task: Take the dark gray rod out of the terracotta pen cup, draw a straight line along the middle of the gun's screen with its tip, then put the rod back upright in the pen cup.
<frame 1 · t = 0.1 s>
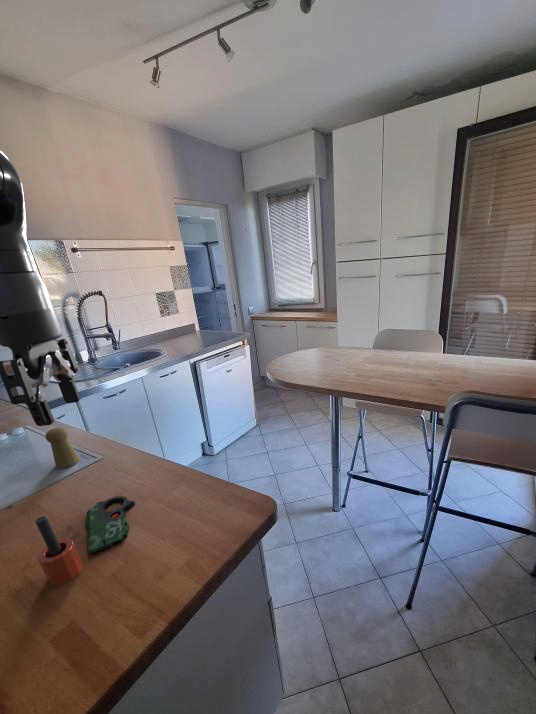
hand: (60, 412, 53), 31 cm above the counter, tool pointing down, fingers open, 8 cm apart
cork: (68, 463, 98), on the counter
pen cup: (67, 573, 61), on the counter
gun: (113, 524, 73), on the counter
dark gray rod: (66, 572, 61), resting on pen cup
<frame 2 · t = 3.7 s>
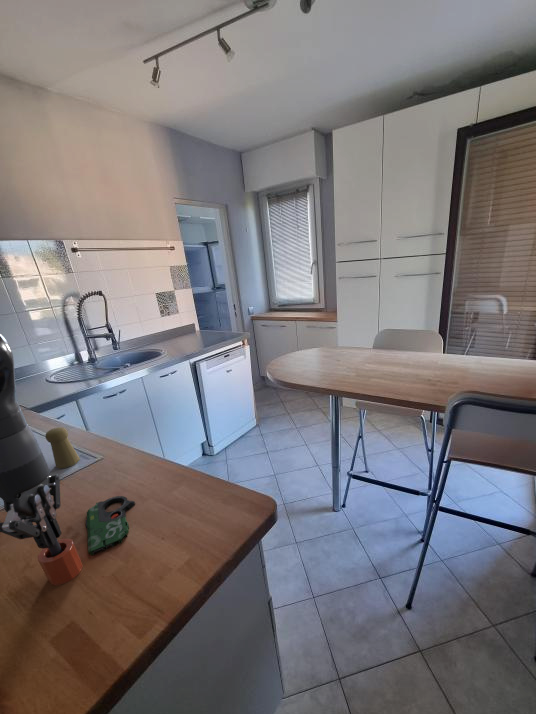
hand: (51, 541, 58), 8 cm above the counter, tool pointing down, fingers closed on dark gray rod, 1 cm apart
dark gray rod: (66, 571, 61), point 1 cm above the counter, touching gripper
everything else where it was.
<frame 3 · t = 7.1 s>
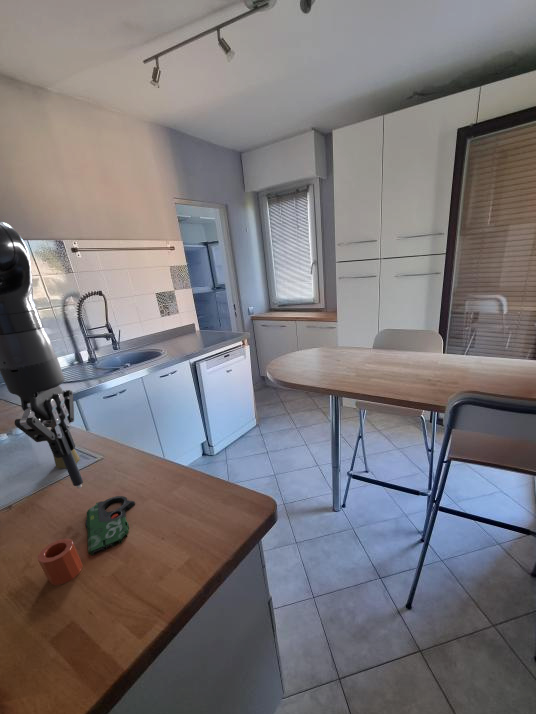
hand: (65, 452, 59), 22 cm above the counter, tool pointing down, fingers closed on dark gray rod, 1 cm apart
dark gray rod: (79, 487, 62), point 14 cm above the counter, touching gripper
everything else where it was.
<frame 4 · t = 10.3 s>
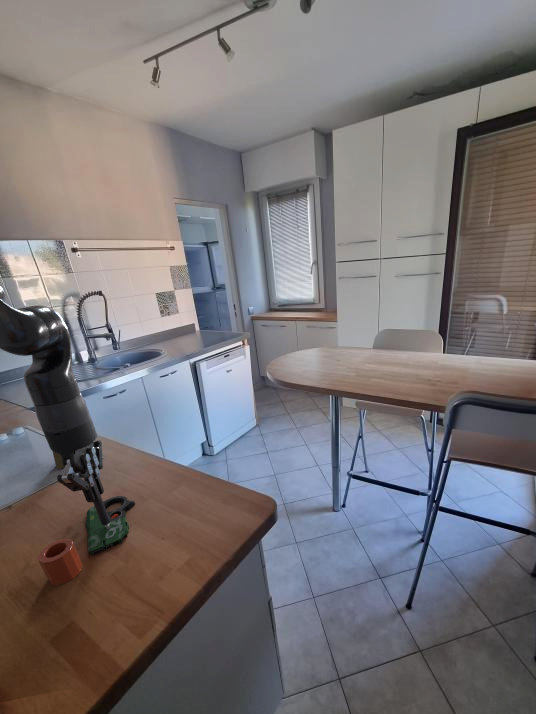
hand: (96, 497, 67), 9 cm above the counter, tool pointing down, fingers closed on dark gray rod, 1 cm apart
dark gray rod: (107, 525, 70), point 2 cm above the counter, touching gripper
everything else where it was.
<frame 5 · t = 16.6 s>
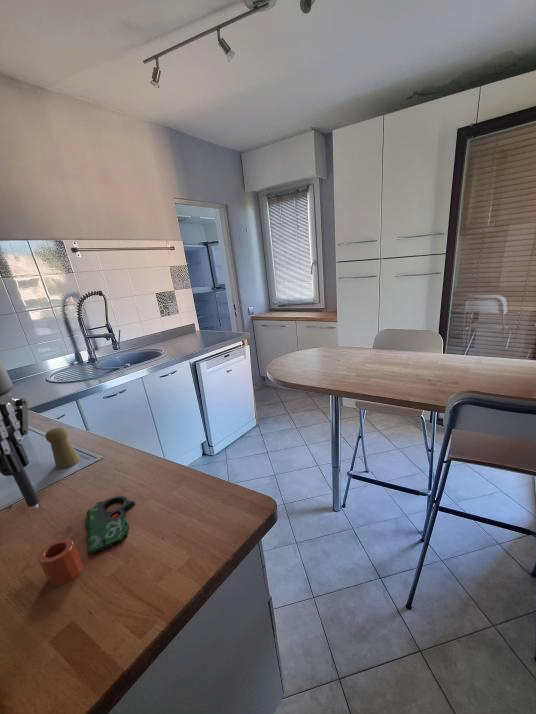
hand: (17, 469, 52), 23 cm above the counter, tool pointing down, fingers closed on dark gray rod, 1 cm apart
dark gray rod: (35, 507, 55), point 15 cm above the counter, touching gripper
everything else where it was.
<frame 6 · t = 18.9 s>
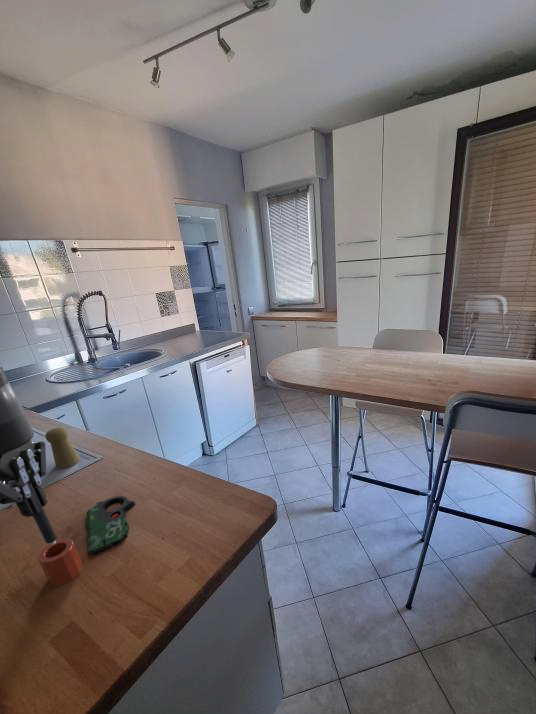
hand: (36, 510, 55), 15 cm above the counter, tool pointing down, fingers closed on dark gray rod, 1 cm apart
dark gray rod: (53, 543, 58), point 7 cm above the counter, touching gripper
everything else where it was.
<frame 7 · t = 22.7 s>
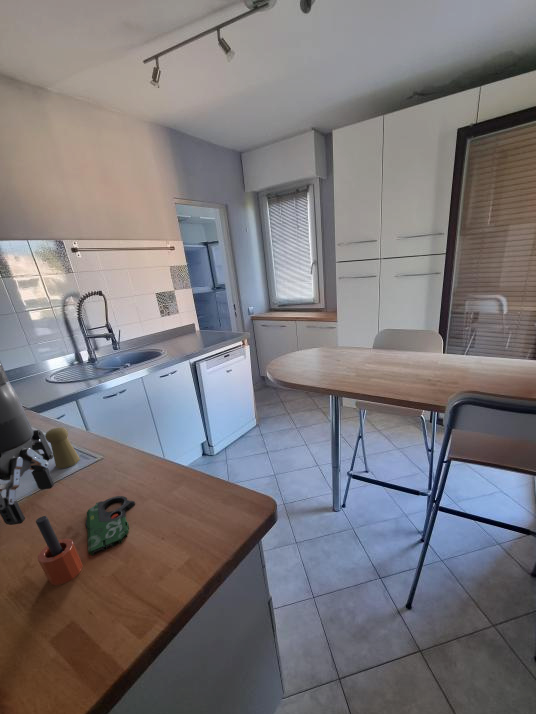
hand: (33, 504, 55), 16 cm above the counter, tool pointing down, fingers open, 8 cm apart
dark gray rod: (66, 571, 61), resting on pen cup
everything else where it was.
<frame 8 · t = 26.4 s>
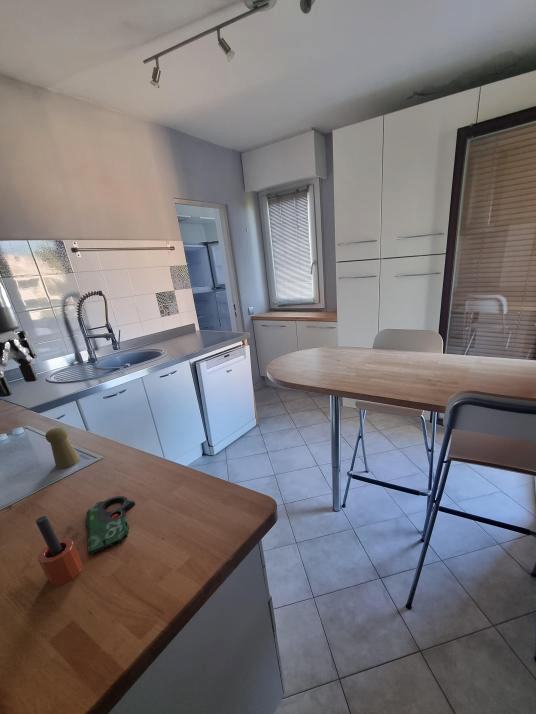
hand: (19, 388, 68), 30 cm above the counter, tool pointing down, fingers open, 8 cm apart
nothing on the counter moved.
at the end: dark gray rod 0.1 cm off-centre in the pen cup, point 0.5 cm above the pen cup's base; dark gray rod tilted 0°; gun moved 0.2 cm from its start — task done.
